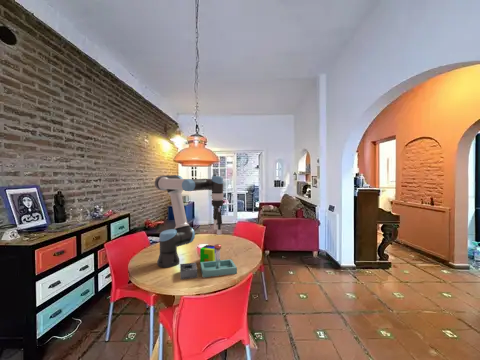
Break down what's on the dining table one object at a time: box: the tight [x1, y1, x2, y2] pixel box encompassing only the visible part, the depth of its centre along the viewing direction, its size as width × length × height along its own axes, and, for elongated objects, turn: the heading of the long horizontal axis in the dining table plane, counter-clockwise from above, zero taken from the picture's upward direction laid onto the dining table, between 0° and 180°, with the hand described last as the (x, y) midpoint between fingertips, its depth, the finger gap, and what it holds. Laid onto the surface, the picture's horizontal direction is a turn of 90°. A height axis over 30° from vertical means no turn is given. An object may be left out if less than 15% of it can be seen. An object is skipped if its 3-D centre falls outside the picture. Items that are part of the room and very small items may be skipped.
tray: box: [199, 258, 238, 278], centre depth 155 cm, size 16×22×4 cm
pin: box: [213, 243, 222, 269], centre depth 154 cm, size 5×5×16 cm
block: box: [179, 262, 198, 280], centre depth 149 cm, size 12×10×5 cm
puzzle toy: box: [199, 244, 216, 263], centre depth 172 cm, size 10×10×10 cm
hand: (217, 231), depth 154 cm, fingers open, 13 cm apart
